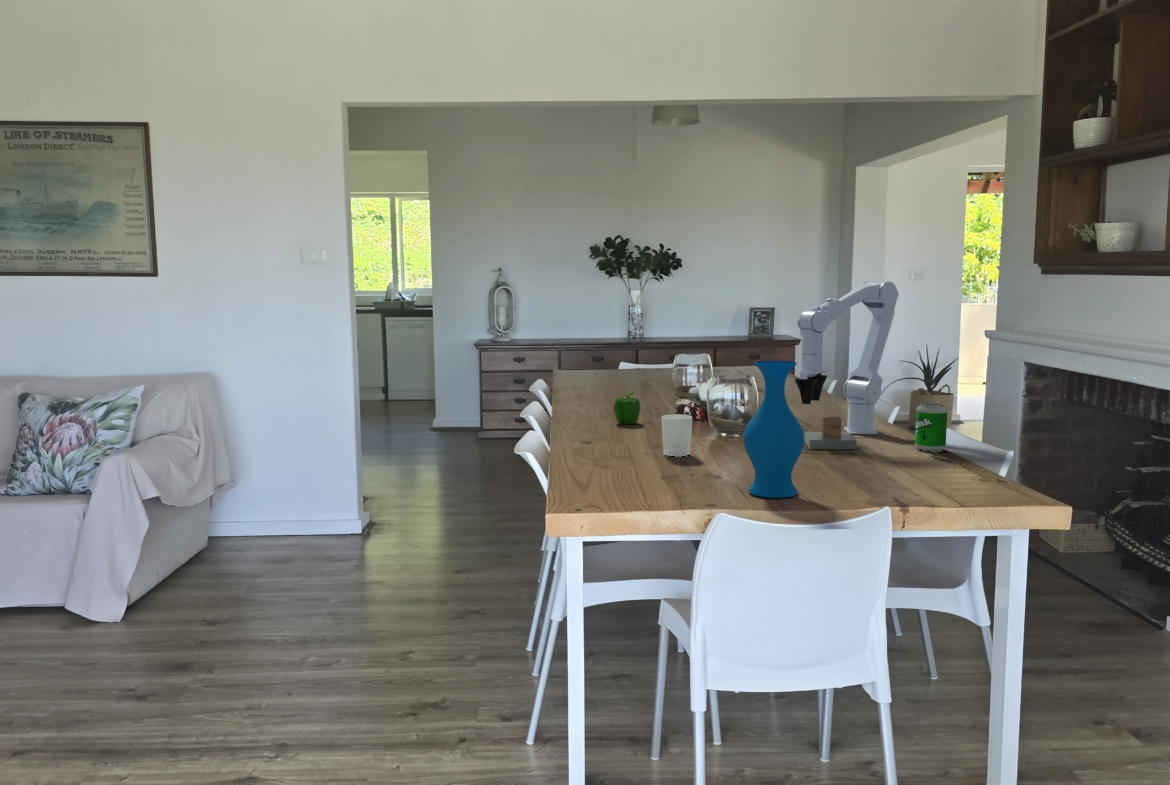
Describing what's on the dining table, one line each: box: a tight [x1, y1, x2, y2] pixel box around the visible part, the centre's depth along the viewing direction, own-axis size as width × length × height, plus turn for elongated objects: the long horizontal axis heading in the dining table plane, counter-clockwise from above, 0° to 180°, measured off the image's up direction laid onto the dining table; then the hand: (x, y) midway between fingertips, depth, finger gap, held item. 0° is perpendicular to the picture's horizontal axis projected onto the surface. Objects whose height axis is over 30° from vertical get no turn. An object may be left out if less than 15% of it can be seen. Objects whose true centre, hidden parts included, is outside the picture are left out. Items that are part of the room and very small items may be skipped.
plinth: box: [803, 431, 858, 450], centre depth 237 cm, size 12×12×2 cm
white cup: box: [660, 413, 693, 458], centre depth 225 cm, size 8×8×10 cm
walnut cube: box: [821, 415, 842, 438], centre depth 236 cm, size 4×4×5 cm
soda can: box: [914, 402, 948, 453], centre depth 228 cm, size 8×8×12 cm
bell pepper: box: [613, 391, 641, 425], centre depth 273 cm, size 8×8×10 cm
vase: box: [743, 360, 805, 499], centre depth 183 cm, size 12×13×28 cm
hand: (810, 402), depth 245 cm, fingers open, 7 cm apart
